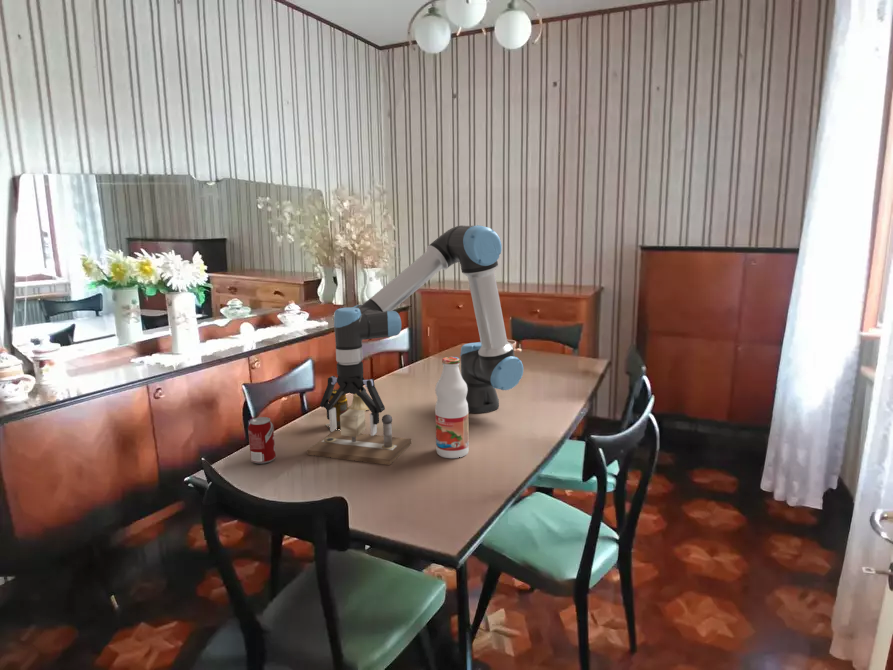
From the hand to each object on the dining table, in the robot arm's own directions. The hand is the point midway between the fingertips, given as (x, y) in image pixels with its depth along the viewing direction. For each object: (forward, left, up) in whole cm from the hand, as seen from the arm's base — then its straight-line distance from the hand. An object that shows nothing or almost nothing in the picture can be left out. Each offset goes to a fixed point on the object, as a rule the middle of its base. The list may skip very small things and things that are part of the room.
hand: (353, 432), depth 174 cm
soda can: (+21, +15, -5) cm, 26 cm away
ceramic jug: (-23, -91, -5) cm, 94 cm away
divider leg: (0, 0, -3) cm, 3 cm away
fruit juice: (-29, -5, -5) cm, 30 cm away
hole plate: (-2, 0, -5) cm, 5 cm away
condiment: (+13, -15, -5) cm, 21 cm away
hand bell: (+15, -34, -5) cm, 38 cm away
